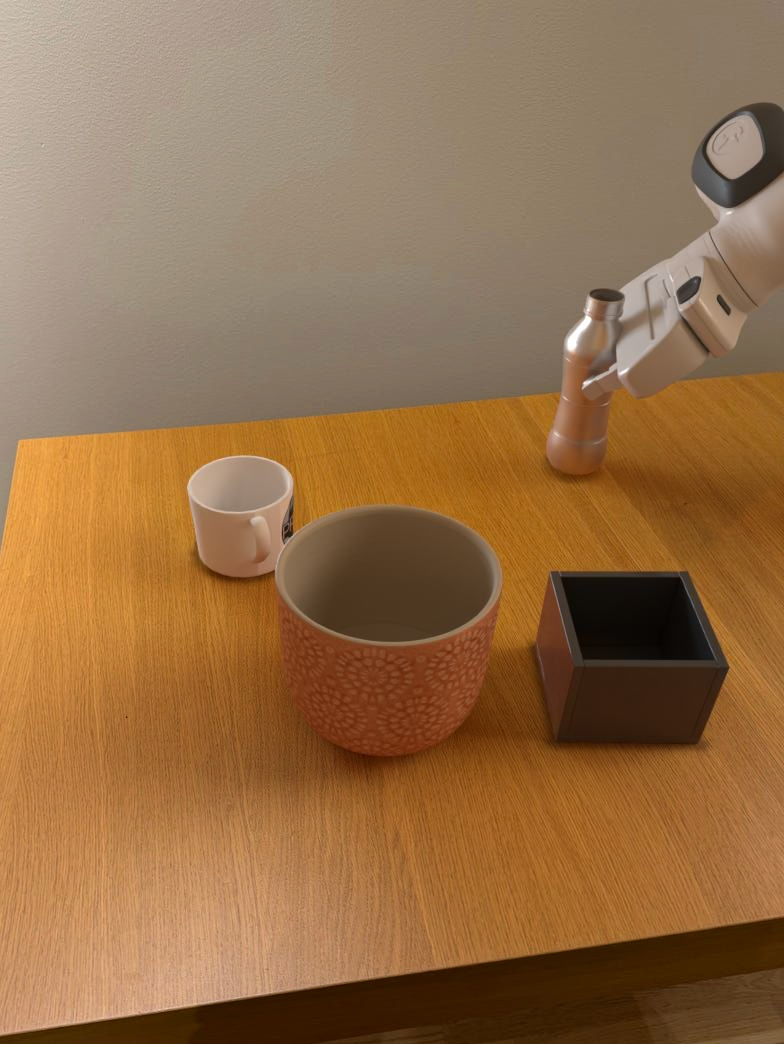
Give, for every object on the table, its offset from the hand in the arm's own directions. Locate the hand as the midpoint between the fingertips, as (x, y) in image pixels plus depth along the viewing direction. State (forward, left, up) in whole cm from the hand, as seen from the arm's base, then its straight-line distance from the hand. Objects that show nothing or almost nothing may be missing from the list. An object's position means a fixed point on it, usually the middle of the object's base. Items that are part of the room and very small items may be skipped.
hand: (584, 373), depth 98 cm
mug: (+35, +17, -12) cm, 41 cm away
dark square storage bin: (+2, +36, -11) cm, 38 cm away
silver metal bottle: (-1, 0, -12) cm, 12 cm away
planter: (+22, +38, -12) cm, 46 cm away
